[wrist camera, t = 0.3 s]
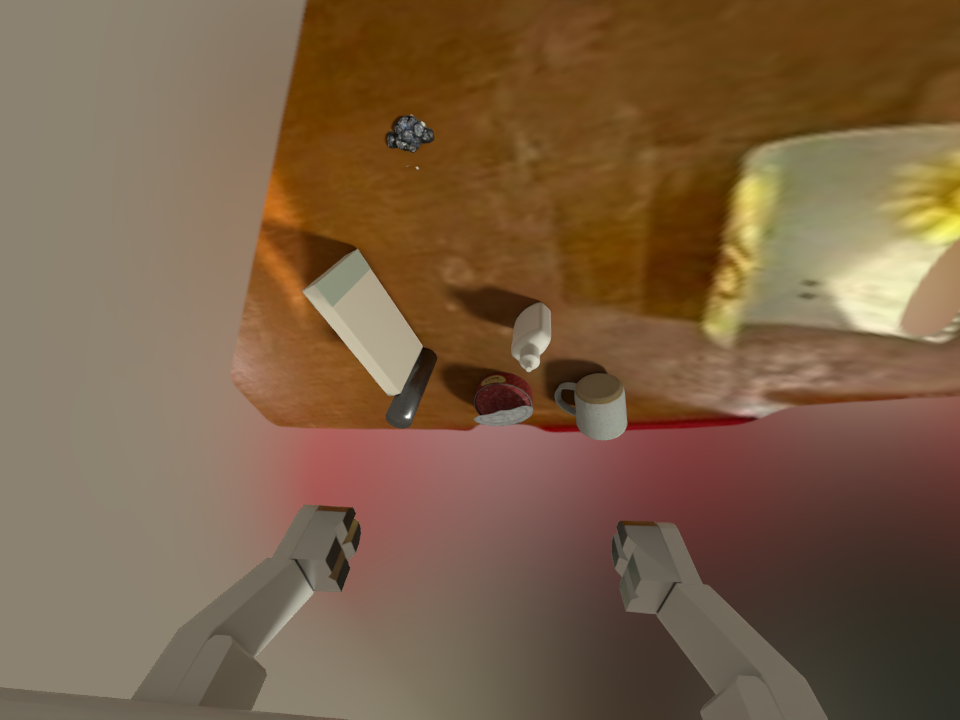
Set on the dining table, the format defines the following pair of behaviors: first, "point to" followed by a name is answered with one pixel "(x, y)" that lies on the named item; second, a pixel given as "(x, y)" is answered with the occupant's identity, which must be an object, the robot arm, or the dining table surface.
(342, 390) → the dining table surface
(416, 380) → the hinge post
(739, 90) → the dining table surface
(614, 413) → the ceramic mug
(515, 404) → the canned food
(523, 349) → the eye dropper bottle
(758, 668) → the robot arm
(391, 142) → the blueberries
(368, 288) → the cream flat block
